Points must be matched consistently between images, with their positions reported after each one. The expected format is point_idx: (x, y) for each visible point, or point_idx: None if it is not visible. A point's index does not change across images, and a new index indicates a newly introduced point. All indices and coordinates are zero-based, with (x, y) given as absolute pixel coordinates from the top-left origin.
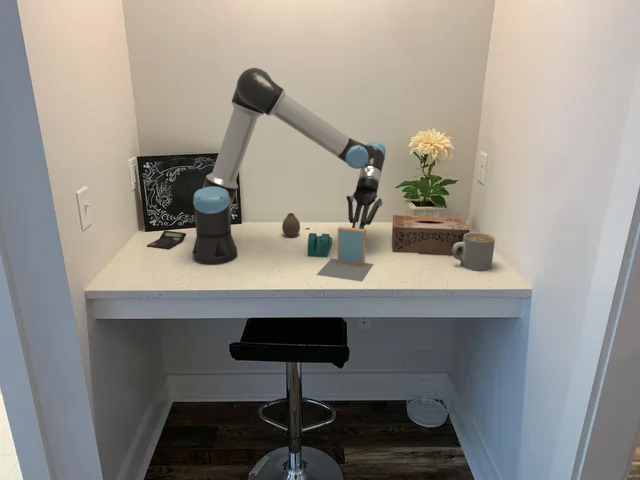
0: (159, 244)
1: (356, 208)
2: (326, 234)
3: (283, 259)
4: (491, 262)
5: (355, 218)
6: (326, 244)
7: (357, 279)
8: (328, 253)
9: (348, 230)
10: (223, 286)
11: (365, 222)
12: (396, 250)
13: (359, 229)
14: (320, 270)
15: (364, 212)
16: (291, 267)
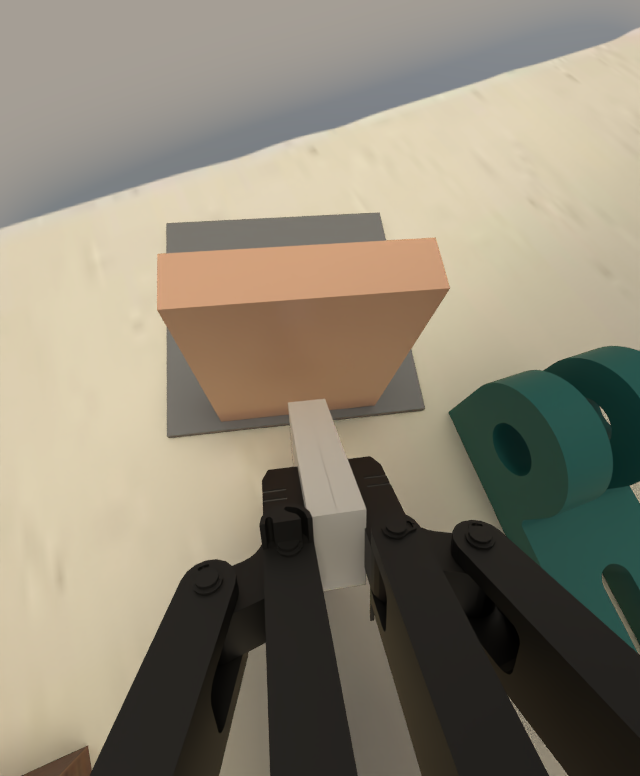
0: None
1: (536, 773)
2: (565, 423)
3: (615, 310)
4: None
5: (405, 554)
6: (492, 382)
7: (192, 232)
8: (480, 472)
9: (328, 252)
10: (587, 62)
11: (245, 565)
12: (43, 771)
13: (224, 280)
14: None
15: (302, 717)
16: (520, 250)
